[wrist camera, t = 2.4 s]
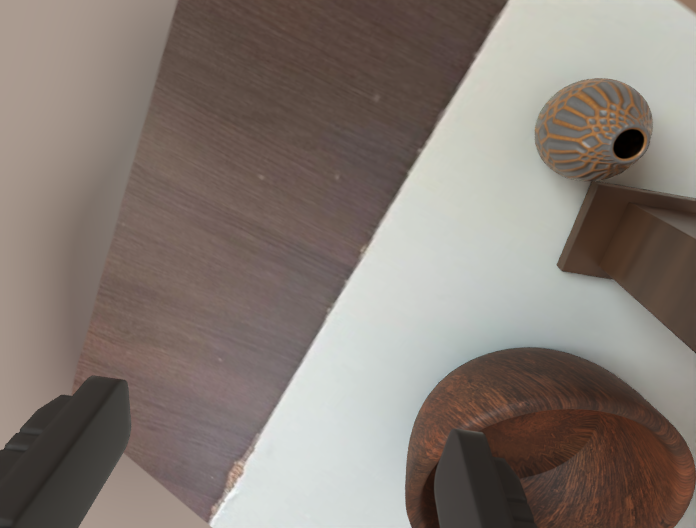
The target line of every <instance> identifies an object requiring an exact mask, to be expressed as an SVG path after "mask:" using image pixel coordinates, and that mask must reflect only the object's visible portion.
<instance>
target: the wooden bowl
mask: <svg viewBox="0 0 696 528" xmlns="http://www.w3.org/2000/svg"><path fill="white" fill-rule="evenodd" d="M453 428H455V429H462V430H469V431H476V432H482V433H484V434H485V436H486V438H487V441H488V444H489V447H490V450H491V453H492V456H493V457H499V458H504V459H505V460H506V462H507V463H508V464H509V465H510V467H511V468H512V469H513V471H514V472H515V473H516V475H517V476H518V477H519V479H520V481H521V484H522V487H523V490H524V492H525V495H526V498H527V504H528V505H529V506H530V508H531V511H532V514H533V516H534V523H536V524H537V527H538V528H674V527H675V526H676V524H677V523H678V522H679V520H680V519H681V518H682V516H683V515H684V513H685V511H686V509H687V508H688V506H689V504H690V501H691V499H692V496H693V493H694V489H695V482H696V470H695V464H694V460H693V457H692V454H691V452H690V450H689V447H688V445H687V443H686V442H685V440H684V439H683V437H682V435H681V434H680V433H679V432H678V431H677V429H676V428H675V427H674V426H673V425H672V424H671V423H670V422H669V421H668V420H667V419H666V418H665V417H664V416H663V415H662V414H661V413H660V412H659V411H657V410H656V409H655V408H654V407H653V406H652V405H651V404H650V403H649V402H648V401H646V400H645V399H644V398H643V397H642V396H641V395H640V394H639V393H637V392H636V391H635V390H634V389H633V388H631V387H630V386H629V385H628V384H626V383H625V382H623V381H622V380H621V379H619V378H618V377H616V376H615V375H614V374H612V373H610V372H609V371H607V370H605V369H604V368H602V367H600V366H598V365H596V364H595V363H592V362H590V361H588V360H585V359H583V358H580V357H578V356H575V355H572V354H569V353H565V352H561V351H556V350H551V349H544V348H530V347H529V348H513V349H506V350H501V351H496V352H493V353H489V354H486V355H483V356H480V357H478V358H475V359H473V360H471V361H469V362H467V363H465V364H463V365H461V366H460V367H458V368H457V369H455V370H454V371H452V372H451V373H450V374H448V375H447V376H446V377H445V378H444V379H443V380H442V381H441V382H439V384H438V385H437V386H436V387H435V388H434V389H433V391H432V392H431V393H430V394H429V396H428V397H427V399H426V400H425V402H424V404H423V405H422V407H421V409H420V411H419V413H418V415H417V418H416V420H415V423H414V426H413V429H412V433H411V437H410V441H409V447H408V454H407V464H406V482H405V500H406V510H407V515H408V518H409V521H410V524H411V527H412V528H440V525H439V519H438V513H437V507H436V501H435V493H434V480H435V473H436V469H437V466H438V463H439V460H440V457H441V455H442V452H443V449H444V446H445V444H446V441H447V438H448V435H449V433H450V431H451V430H452V429H453Z"/></svg>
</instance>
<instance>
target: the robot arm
mask: <svg viewBox="0 0 696 528" xmlns="http://www.w3.org/2000/svg"><path fill="white" fill-rule="evenodd" d="M130 432H131V416H130V403H129V391H128V384H127V381H126V380H121V379H114V378H108V377H101V376H91V377H89V378H88V379H87V380H86V381H85V382H84V383H83V384H82V385H81V387H80V388H79V389H78V390H77V391H76V392H75V394H74V395H73V396H68V395H60V396H59V397H57V398H56V399H54V400H52V401H51V402H49V403H48V404H46V405H44V406H43V407H41V408H40V409H38V410H37V411H36V412H35V413H34V414H33V415H32V417H31V418H30V419H29V420H28V421H27V422H26V423H25V424H24V425H23V426H22V428H21V429H20V432H19V433H16V434H15V435H14V436H13V437H12V438H11V439H10V441H9V442H8V443H7V444H6V445H5V448H4V449H3V450H0V528H78V527H79V525H80V524H81V522H82V520H83V519H84V517H85V515H86V514H87V512H88V510H89V509H90V507H91V505H92V504H93V502H94V500H95V499H96V497H97V495H98V494H99V492H100V490H101V489H102V487H103V485H104V484H105V482H106V481H107V479H108V477H109V476H110V474H111V472H112V470H113V469H114V467H115V465H116V464H117V462H118V461H119V459H120V457H121V455H122V454H123V452H124V450H125V448H126V446H127V443H128V440H129V437H130ZM434 493H435V501H436V507H437V513H438V519H439V525H440V528H538V527H537V524H536V523H534V516H533V514H532V511H531V508H530V506H529V505H528V504H527V498H526V495H525V492H524V490H523V487H522V484H521V481H520V479H519V477H518V476H517V475H516V473H515V472H514V471H513V469H512V468H511V467H510V465H509V464H508V463H507V462H506V460H505V459H504V458H499V457H493V456H492V453H491V450H490V447H489V444H488V441H487V438H486V436H485V434H484V433H482V432H476V431H469V430H462V429H455V428H453V429H452V430H451V431H450V433H449V435H448V438H447V441H446V444H445V446H444V449H443V452H442V455H441V457H440V460H439V463H438V466H437V469H436V473H435V480H434Z"/></svg>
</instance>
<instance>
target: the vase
mask: <svg viewBox="0 0 696 528" xmlns="http://www.w3.org/2000/svg"><path fill="white" fill-rule="evenodd" d="M652 129H653V119H652V114H651V111H650V108H649V106H648V104H647V102H646V101H645V99H644V98H643V97H642V96H641V95H640V94H639V93H638V92H637V91H636V90H635V89H633V88H632V87H631V86H629V85H627V84H625V83H622V82H620V81H617V80H612V79H603V78H595V79H586V80H582V81H579V82H576V83H573V84H571V85H569V86H567V87H565V88H563V89H562V90H560V91H559V92H557V93H556V94H555V95H554V96H553V97H552V98H551V99H550V100H549V101H548V102H547V103H546V104H545V106H544V107H543V109H542V110H541V112H540V114H539V116H538V119H537V122H536V126H535V143H536V147H537V150H538V153H539V155H540V157H541V158H542V160H543V161H544V162H545V163H546V164H547V165H548V166H549V167H550V168H551V169H552V170H554V171H555V172H556V173H558V174H560V175H562V176H564V177H566V178H569V179H573V180H579V181H597V180H603V179H607V178H610V177H613V176H616V175H618V174H620V173H622V172H623V171H625V170H626V169H628V168H629V167H631V166H632V165H633V164H634V163H635V162H636V161H637V160H638V159H639V158H640V157H642V156H643V155H644V153H645V152H646V151H647V149H648V147H649V143H650V139H651V135H652Z"/></svg>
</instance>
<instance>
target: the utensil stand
mask: <svg viewBox="0 0 696 528" xmlns="http://www.w3.org/2000/svg"><path fill="white" fill-rule="evenodd" d="M557 266H558V267H559V268H560V269H561V271H565V272H571V273H578V274H584V275H590V276H596V277H602V278H608V279H614V280H615V281H616V282H617V283H618V284H619V285H620V286H622V287H623V288H624V289H625V290H626V291H627V292H628V293H629V294H630V295H632V296H633V297H634V298H635V299H636V300H637V301H638V302H639V303H640V304H642V305H643V306H644V307H645V308H646V309H647V310H648V311H649V312H651V313H652V314H653V315H654V316H655V317H656V318H657V319H658V320H659V321H661V322H662V323H663V324H664V325H665V326H666V327H667V328H668V329H669V330H671V331H672V332H673V333H674V334H675V335H676V336H677V337H678V338H679V339H681V340H682V341H683V342H684V343H685V344H686V345H687V346H688V347H690V348H691V349H692V350H693V351H694V352H695V353H696V199H695V198H690V197H684V196H678V195H672V194H667V193H661V192H655V191H650V190H644V189H638V188H632V187H627V186H621V185H615V184H610V183H604V182H598V181H592V182H591V185H590V187H589V190H588V192H587V194H586V197H585V199H584V201H583V204H582V206H581V209H580V211H579V213H578V216H577V218H576V220H575V223H574V225H573V228H572V230H571V232H570V235H569V237H568V239H567V242H566V244H565V247H564V249H563V251H562V254H561V256H560V258H559V261H558V263H557Z"/></svg>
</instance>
